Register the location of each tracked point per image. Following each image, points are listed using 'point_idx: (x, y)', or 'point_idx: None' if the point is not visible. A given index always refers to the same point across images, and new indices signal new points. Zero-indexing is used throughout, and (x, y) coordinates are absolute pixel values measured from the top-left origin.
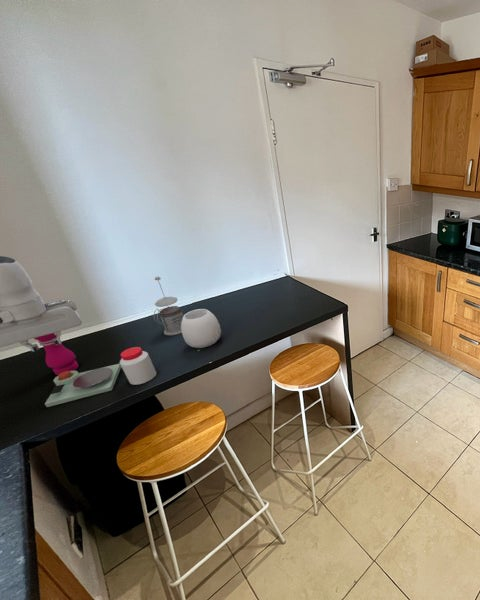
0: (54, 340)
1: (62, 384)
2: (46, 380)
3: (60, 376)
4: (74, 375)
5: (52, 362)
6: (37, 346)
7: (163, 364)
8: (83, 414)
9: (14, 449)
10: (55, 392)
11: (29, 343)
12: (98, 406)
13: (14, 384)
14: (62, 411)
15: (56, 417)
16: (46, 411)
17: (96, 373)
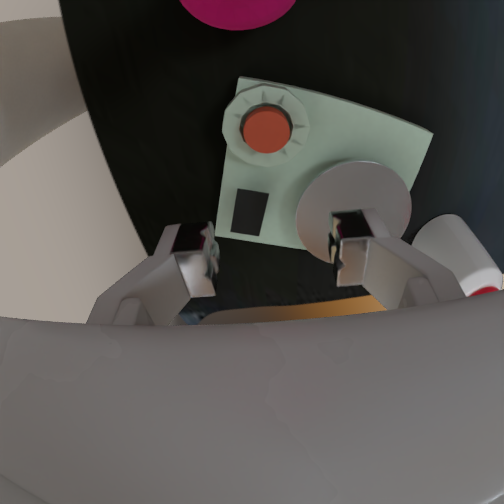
0: (349, 282)
1: (261, 193)
2: (175, 36)
3: (254, 148)
4: (298, 144)
5: (210, 20)
6: (204, 235)
7: (489, 215)
8: (302, 303)
9: (194, 324)
10: (246, 233)
11: (156, 279)
12: (332, 295)
13: (79, 15)
14: (259, 268)
15: (248, 282)
16: (220, 245)
17: (369, 200)
